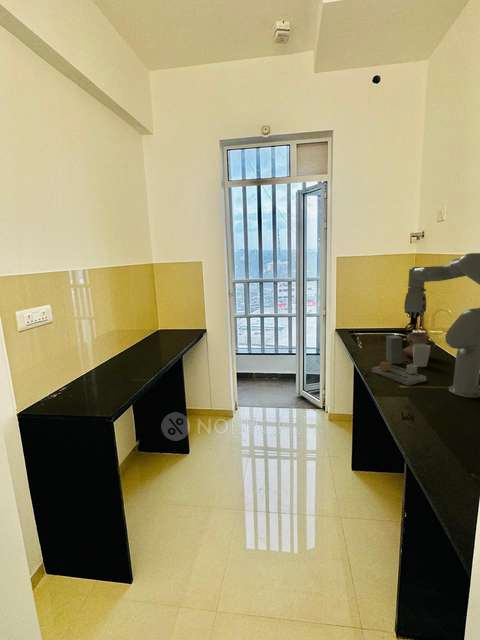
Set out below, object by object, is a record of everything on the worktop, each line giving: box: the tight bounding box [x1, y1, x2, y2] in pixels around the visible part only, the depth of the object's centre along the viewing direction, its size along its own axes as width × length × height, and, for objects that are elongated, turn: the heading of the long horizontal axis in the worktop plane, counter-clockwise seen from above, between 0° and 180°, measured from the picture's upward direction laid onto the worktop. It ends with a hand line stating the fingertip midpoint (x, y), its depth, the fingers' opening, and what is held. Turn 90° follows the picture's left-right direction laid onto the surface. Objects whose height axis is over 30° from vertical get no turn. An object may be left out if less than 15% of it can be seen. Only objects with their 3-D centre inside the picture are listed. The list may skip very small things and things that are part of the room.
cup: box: [412, 344, 431, 368], centre depth 194 cm, size 9×9×12 cm
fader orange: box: [379, 360, 392, 371], centre depth 180 cm, size 3×4×4 cm
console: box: [371, 364, 427, 386], centre depth 178 cm, size 23×13×3 cm, turn 26°
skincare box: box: [385, 334, 403, 365], centre depth 201 cm, size 8×7×16 cm
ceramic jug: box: [402, 332, 436, 358], centre depth 211 cm, size 18×14×14 cm
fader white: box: [405, 363, 418, 374], centre depth 175 cm, size 3×4×4 cm
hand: (413, 324), depth 180 cm, fingers closed
